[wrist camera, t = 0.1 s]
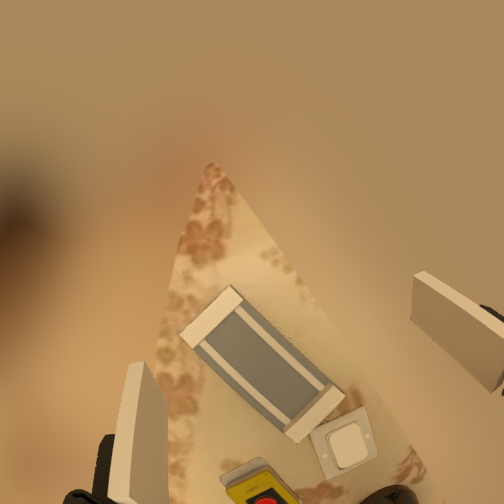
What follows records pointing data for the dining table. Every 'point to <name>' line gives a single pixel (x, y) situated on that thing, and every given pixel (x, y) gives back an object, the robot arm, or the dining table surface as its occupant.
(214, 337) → the rail board
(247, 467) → the emergency button
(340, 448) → the light switch
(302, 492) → the dining table surface
